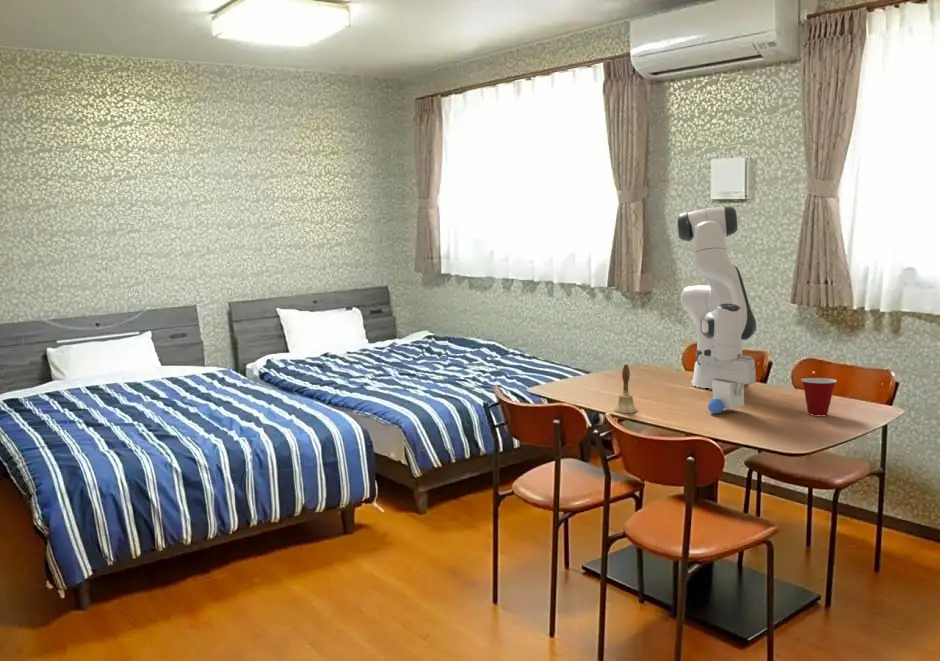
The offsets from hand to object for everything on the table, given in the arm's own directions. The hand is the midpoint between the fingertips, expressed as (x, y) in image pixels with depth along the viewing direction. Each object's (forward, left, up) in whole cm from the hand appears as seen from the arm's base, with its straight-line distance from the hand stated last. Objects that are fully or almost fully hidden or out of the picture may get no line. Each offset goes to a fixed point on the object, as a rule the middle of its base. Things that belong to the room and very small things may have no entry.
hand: (727, 393), depth 276 cm
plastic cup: (-20, +21, -7) cm, 30 cm away
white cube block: (-1, 0, -4) cm, 4 cm away
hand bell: (+25, -22, -7) cm, 34 cm away
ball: (+5, 0, -4) cm, 7 cm away
